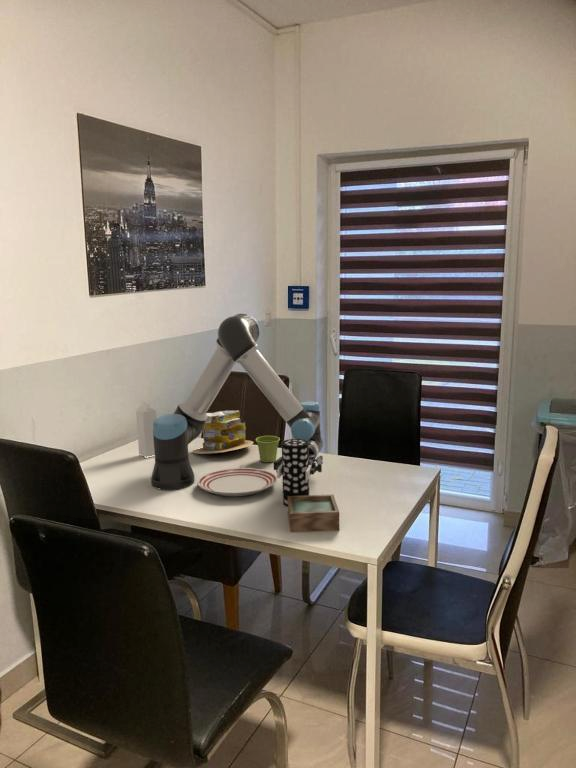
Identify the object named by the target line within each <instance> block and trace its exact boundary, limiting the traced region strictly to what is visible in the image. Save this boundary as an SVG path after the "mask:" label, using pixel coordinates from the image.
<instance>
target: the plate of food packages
mask: <svg viewBox="0 0 576 768" xmlns="http://www.w3.org/2000/svg"><path fill="white" fill-rule="evenodd" d="M206 414H207V420H206V422H205V423H204V425H203V429H202V434H203V435H202V439H203V442H202V446H203V448H200V449H196V448H195V449H196V450H194V449H193V450H192V453H194V454H200V455H201V454H202V455H204V454H206V455H207V454H218V453H225V455H226V454H227V453H228V452H229V451H230V452H231V451H235V450H236V451H237V450H239V449H240V450H241V449H243V448H247V447H249V446H252V445H253V444H254V441H252V440H247V438H246V430H247V429H246V421H244V422H241V421H242V419H241V418H240V417H241V415H240V410H228V409H226V410H220V411H215V412H206Z"/></svg>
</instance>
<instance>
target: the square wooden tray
mask: <svg viewBox="0 0 576 768" xmlns="http://www.w3.org/2000/svg"><path fill="white" fill-rule="evenodd" d="M287 517H288V524H289V530H290V531H289V532H290V533H301V532H303V533H305V532H328V531H329V532H331V531H340V509H339V507H338V504H337V501H336V498H335V496H334V494H313V495H312V494H309V495H305V496H288V507H287Z"/></svg>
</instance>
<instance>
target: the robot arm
mask: <svg viewBox="0 0 576 768" xmlns="http://www.w3.org/2000/svg"><path fill="white" fill-rule="evenodd" d="M260 333H261V328H260V325H259V322H258V321H257V319H256V318H255V317H254V316H252V315H250V314H247V313H237V314H235V315H233V316H229V317H227V318H225V319H224V320H222V322H221V323H220V325H219V327H218V329H217V339H216V342H215V343H216V349H215V350H214V352H213V354H212V355H211V357H210V359H209V361H208V362H207V364H206V366H205V368H204V370H203V371H202V373H201V374H200V376H199V378H198V380H197V381H196V383H195V384H194V386H193V388H192V390H191V392H190V393H189V395H188V396H187V399H186V400H185V401H184V400H183V401H180V402H179V403H178V406H177V407H176V409H175V410H174V412H173V413H169V414H164V415H160V416H159V417H158V416H157V419H156V420H155V421H154V423H153V439H154V454H155V457H154V465H153V468H152V473H151V477H150V484H152V485H151V486H152V487H153V486H154V487H153V488H155V487H156V488H155V489H158V488H160V489H159V490H166V489H169V490H178V489H184V488H187V487H189V486H191V485H193V484H194V483H195V482H194V481H195V480H196V479H195V478H196V477H195V473H194V469H193V468H192V465H191V463H190V459H189V444H190V443H191V442H193V441H194V440H196V439H197V438H198V437H199V436H200V435H201V433H203V431H202V429H203V425H204V423H205V422H206V420H207V414H206V413H208V410H209V409H210V407H211V406H212V404H213V402H214V400H215V399H216V398H217V396H218V394H219V392H220V391H221V389H222V387H223V386H224V384H225V382H226V381H227V379H228V377H229V376H230V374H231V372H232V370H233V369H234V367H235V365H237V364H239V365H240V366H241V367H242V368H243V369H244V371H245V372H246V373H247V374H248V376H249V378H250V379H252V381H253V382H254V384H255V385H256V386H257V387H258V389H259V390H260V391H261V392H262V393H263V395H264V396H265V397H266V399H267V400H268V401H269V402H270V404H271V405H272V406H273V407H274V409H275V410H276V411H277V413H278V414H279V415H280V416H281V418H282V419H283V420H284V421H285V423H286V424H287V425H288V426H289V428H290V432H291V435H292V437H293V439H303V440H306V441H308V457H309V466H308V468H307V470H306V480H308V479H309V480H310V477H311V476H313V475H315V473H317V472H318V473H322V472H323V471H322V470H323V467H322V465H323V464H324V463H323V462H324V461H323V459H324V458H323V455H319V453H320V452H321V451H322V449H323V446H324V440H323V439H324V438H323V437H322V433H321V409H320V404H319V402H316V401H303V402H300V401H299V400H298V399H297V398H296V396H295V395H294V394H293V393H292V392H291V391H292V390H290V389H289V388H288V387H287V385H286V384H285V383H284V381H283V380H282V378H281V377H279V375H278V374H277V373H276V371H275V370H274V369H273V367H272V366H271V364H270V363H269V362H268V361H267V359H265V357H264V356H263V354H262V353H261V352H260V351H259V349H258V348H259V346H258V344H257V341H258V339H259V337H260ZM318 455H319V456H318ZM273 470H274V471H275V473H276V476H277V478H278V479H280V478H282V456H280V457H279V458H278V459H277V458H276V461H274V462H273Z"/></svg>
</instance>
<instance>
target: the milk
mask: <svg viewBox="0 0 576 768" xmlns="http://www.w3.org/2000/svg"><path fill="white" fill-rule="evenodd" d="M141 404H142V405H141V406H140V407H138V408H137V409H136V410H135V412H136V427H137V428H136V429H137V442H138V444H137V445H138V455H139V454H141V455H143V456H146V457H147V456H152V455H155V454H154V439H153V423H154V421H155V420H156V419H157V418H158V414H157V413H158V411H157V409H154V408H153V407H151V406H150V405H151V404H150V403H149V402H146V401H142V402H141Z"/></svg>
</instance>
